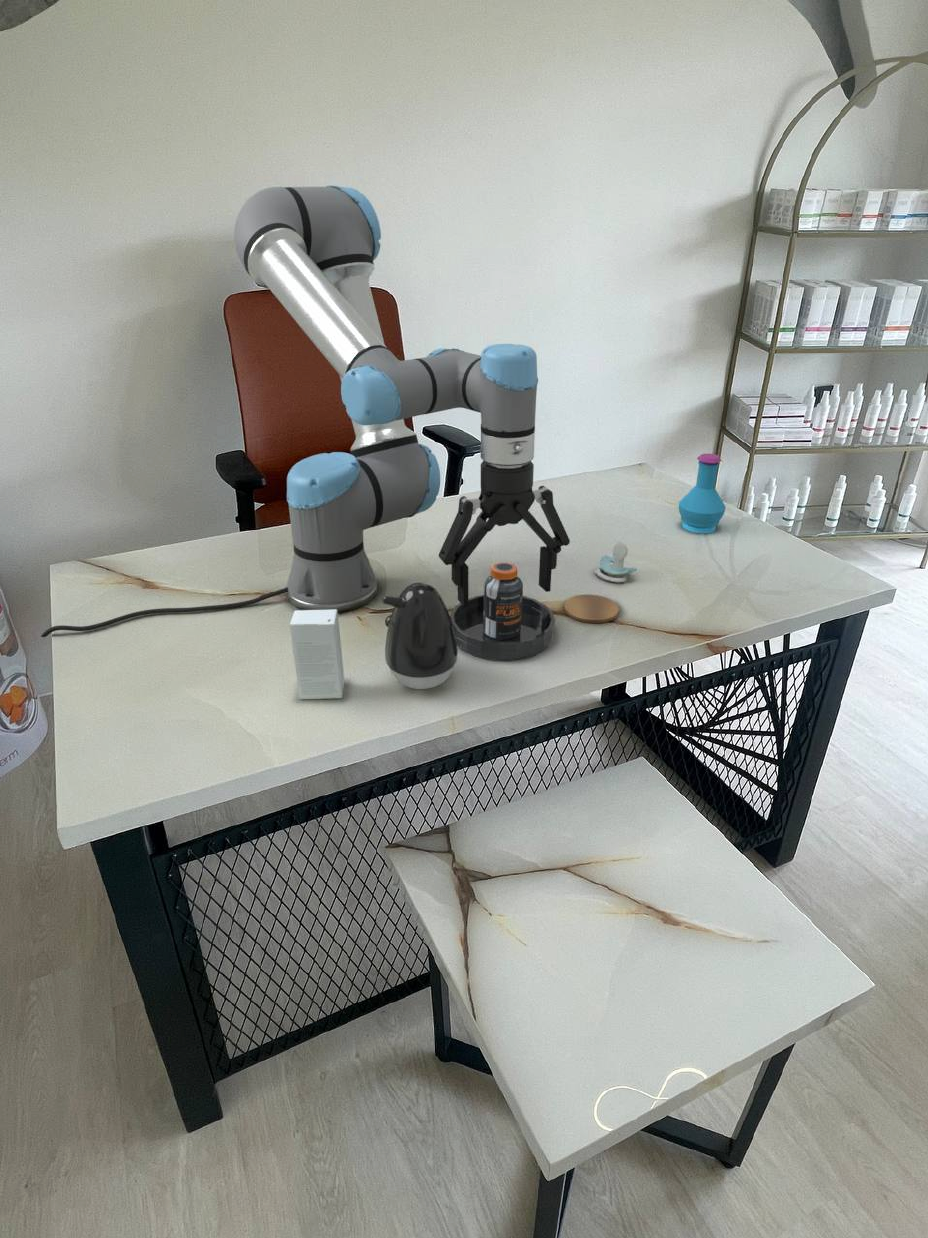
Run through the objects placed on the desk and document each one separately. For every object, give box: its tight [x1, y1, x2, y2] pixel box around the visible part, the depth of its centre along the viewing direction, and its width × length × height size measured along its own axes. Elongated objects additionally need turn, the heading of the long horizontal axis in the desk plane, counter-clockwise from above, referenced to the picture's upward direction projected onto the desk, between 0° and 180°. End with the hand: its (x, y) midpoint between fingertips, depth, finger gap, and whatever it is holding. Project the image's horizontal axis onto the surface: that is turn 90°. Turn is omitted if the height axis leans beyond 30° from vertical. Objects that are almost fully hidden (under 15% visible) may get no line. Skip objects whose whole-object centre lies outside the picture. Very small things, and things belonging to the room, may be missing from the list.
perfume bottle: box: [678, 453, 726, 534], centre depth 161 cm, size 9×9×15 cm
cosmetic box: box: [289, 609, 345, 700], centre depth 110 cm, size 6×4×12 cm
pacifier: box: [594, 541, 638, 583], centre depth 143 cm, size 7×6×6 cm
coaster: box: [563, 594, 620, 624], centre depth 134 cm, size 9×9×1 cm
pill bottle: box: [483, 561, 524, 640], centre depth 124 cm, size 6×6×11 cm
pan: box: [449, 594, 556, 662], centre depth 126 cm, size 16×16×3 cm
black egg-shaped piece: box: [381, 582, 458, 690], centre depth 112 cm, size 10×10×15 cm
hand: (504, 595), depth 123 cm, fingers open, 13 cm apart
